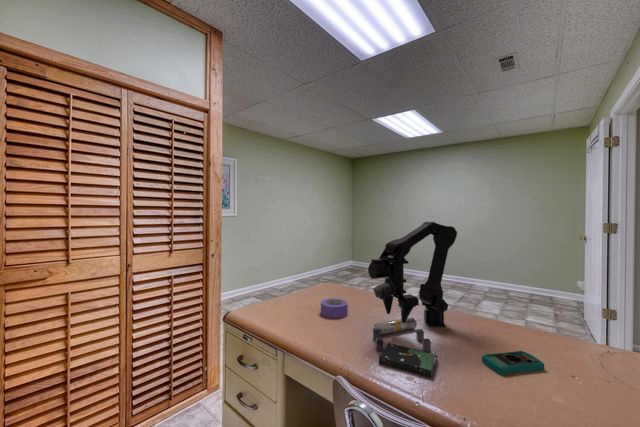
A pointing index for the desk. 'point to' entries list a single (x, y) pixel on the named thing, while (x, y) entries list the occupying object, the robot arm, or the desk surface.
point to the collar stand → (380, 341)
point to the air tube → (395, 326)
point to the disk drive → (409, 360)
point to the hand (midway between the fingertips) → (395, 317)
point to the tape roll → (334, 308)
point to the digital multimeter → (512, 362)
